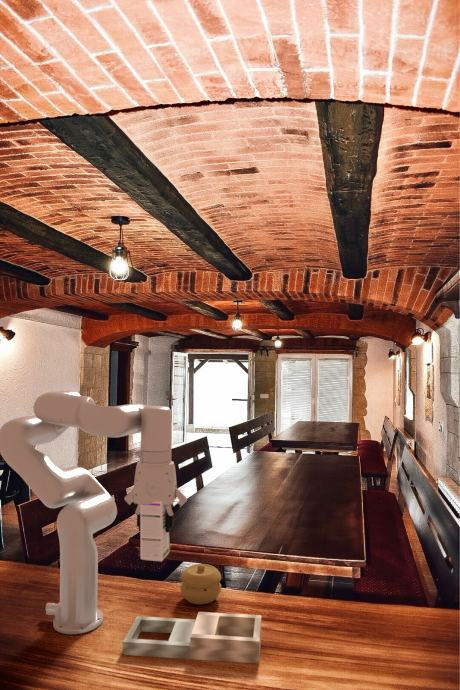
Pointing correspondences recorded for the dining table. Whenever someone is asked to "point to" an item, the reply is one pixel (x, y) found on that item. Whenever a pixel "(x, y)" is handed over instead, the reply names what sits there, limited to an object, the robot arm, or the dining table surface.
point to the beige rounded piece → (201, 583)
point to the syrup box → (153, 532)
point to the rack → (199, 637)
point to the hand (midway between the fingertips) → (155, 529)
